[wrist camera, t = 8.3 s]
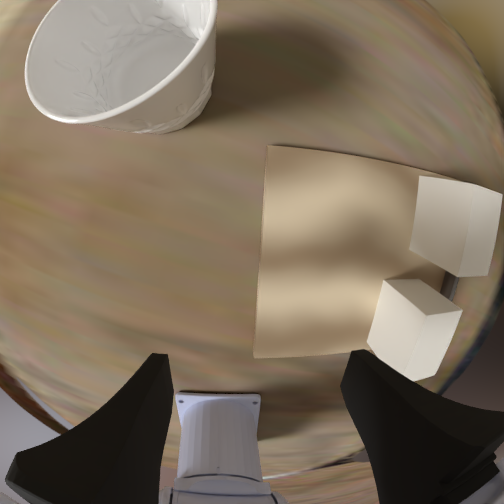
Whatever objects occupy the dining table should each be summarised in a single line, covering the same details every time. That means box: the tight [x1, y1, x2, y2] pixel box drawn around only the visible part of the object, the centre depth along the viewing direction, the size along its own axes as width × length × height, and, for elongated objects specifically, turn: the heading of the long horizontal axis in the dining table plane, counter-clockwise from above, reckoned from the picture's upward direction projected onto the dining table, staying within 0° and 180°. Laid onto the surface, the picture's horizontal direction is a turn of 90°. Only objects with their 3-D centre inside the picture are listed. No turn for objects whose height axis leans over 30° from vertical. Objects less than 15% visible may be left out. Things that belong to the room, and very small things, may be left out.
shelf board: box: [253, 145, 476, 358], centre depth 19 cm, size 16×18×2 cm
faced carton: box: [409, 176, 503, 277], centre depth 16 cm, size 4×6×6 cm
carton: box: [367, 279, 463, 381], centre depth 18 cm, size 4×6×6 cm
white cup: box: [25, 0, 218, 135], centre depth 11 cm, size 8×8×10 cm
